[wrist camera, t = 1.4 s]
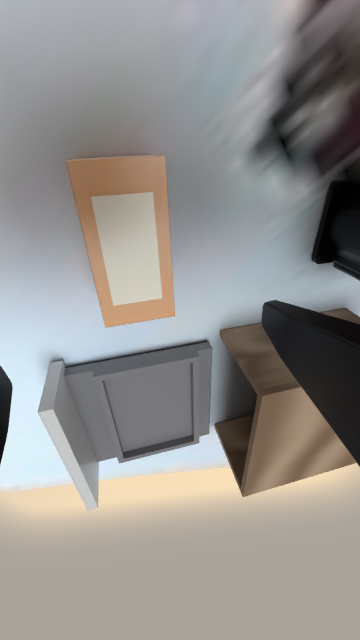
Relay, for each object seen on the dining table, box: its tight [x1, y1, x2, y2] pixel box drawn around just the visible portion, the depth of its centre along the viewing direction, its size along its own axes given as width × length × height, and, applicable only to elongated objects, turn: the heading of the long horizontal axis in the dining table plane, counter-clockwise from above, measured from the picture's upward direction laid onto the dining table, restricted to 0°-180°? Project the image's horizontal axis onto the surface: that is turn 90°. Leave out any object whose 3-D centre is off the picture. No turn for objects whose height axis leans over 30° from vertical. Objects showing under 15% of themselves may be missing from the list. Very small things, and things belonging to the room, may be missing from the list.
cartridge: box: [66, 155, 175, 328], centre depth 17 cm, size 9×4×5 cm, turn 2°
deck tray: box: [38, 342, 212, 510], centre depth 26 cm, size 14×15×5 cm
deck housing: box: [215, 308, 360, 497], centre depth 27 cm, size 14×15×8 cm
